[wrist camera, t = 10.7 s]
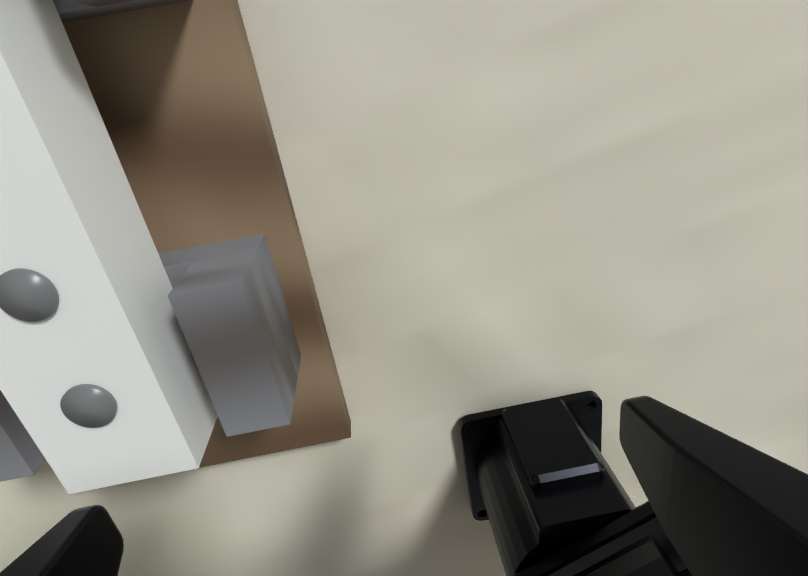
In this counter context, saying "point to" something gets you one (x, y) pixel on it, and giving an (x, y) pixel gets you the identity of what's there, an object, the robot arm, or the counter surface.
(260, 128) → the cradle board
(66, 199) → the white bar
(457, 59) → the counter surface
